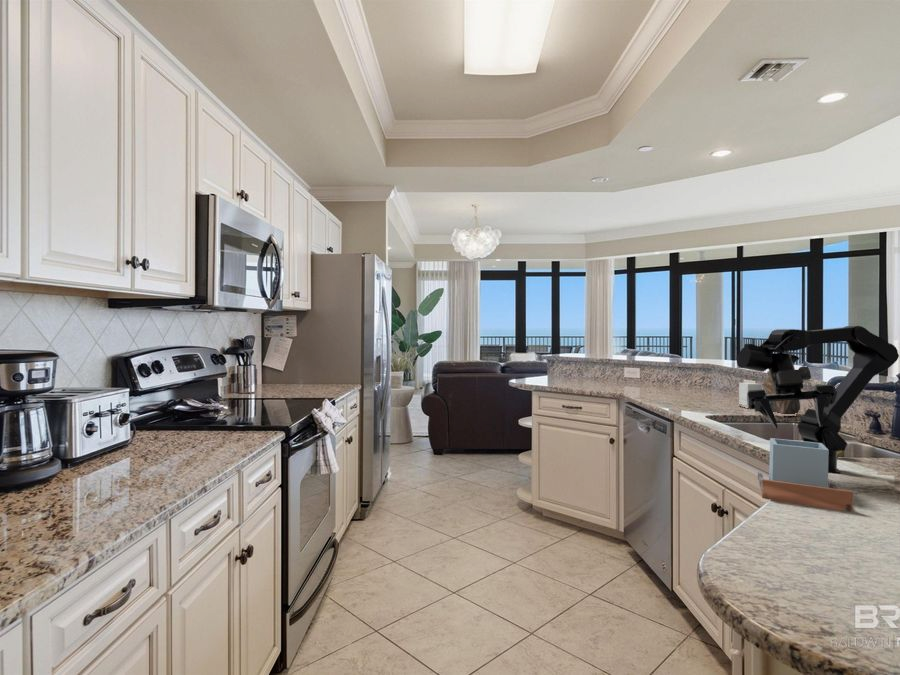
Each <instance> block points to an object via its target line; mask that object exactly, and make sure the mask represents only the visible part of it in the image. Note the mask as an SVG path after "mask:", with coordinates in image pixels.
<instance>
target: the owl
mask: <svg viewBox="0 0 900 675" xmlns="http://www.w3.org/2000/svg"><path fill="white" fill-rule="evenodd" d="M763 388H764V390H765V393H766V394H775V391H774V387H773V383H772V380H771V376H770V373H769V370H768V371H767V376H766V378H765V380H764V382H763ZM800 402H801V401H800V400H789V401H773V402H769V403H770V407H771V409H772V412H777V413H781V414H795V413H797V414H799V411H800V410H801V403H800Z"/></svg>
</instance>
